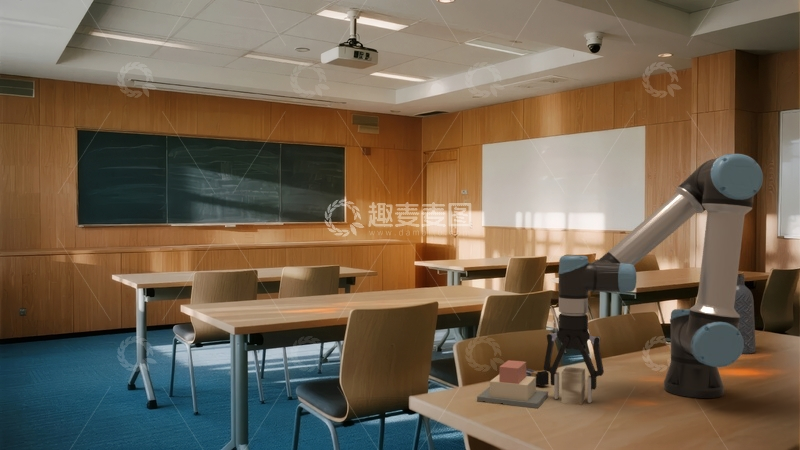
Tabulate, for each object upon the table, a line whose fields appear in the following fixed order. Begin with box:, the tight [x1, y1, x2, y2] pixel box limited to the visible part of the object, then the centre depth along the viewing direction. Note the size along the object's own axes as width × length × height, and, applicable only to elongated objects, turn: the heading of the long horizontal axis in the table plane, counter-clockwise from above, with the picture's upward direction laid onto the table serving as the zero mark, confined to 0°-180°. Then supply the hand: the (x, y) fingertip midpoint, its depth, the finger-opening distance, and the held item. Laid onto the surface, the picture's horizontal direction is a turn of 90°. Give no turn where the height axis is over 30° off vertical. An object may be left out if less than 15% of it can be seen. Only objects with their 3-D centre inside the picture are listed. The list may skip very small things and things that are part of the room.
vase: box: [734, 274, 757, 355], centre depth 235 cm, size 12×12×28 cm
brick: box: [561, 366, 586, 406], centre depth 168 cm, size 5×7×8 cm
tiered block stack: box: [476, 359, 549, 409], centre depth 170 cm, size 16×13×9 cm
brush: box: [526, 368, 550, 386], centre depth 188 cm, size 6×4×15 cm
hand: (573, 399), depth 168 cm, fingers open, 8 cm apart
